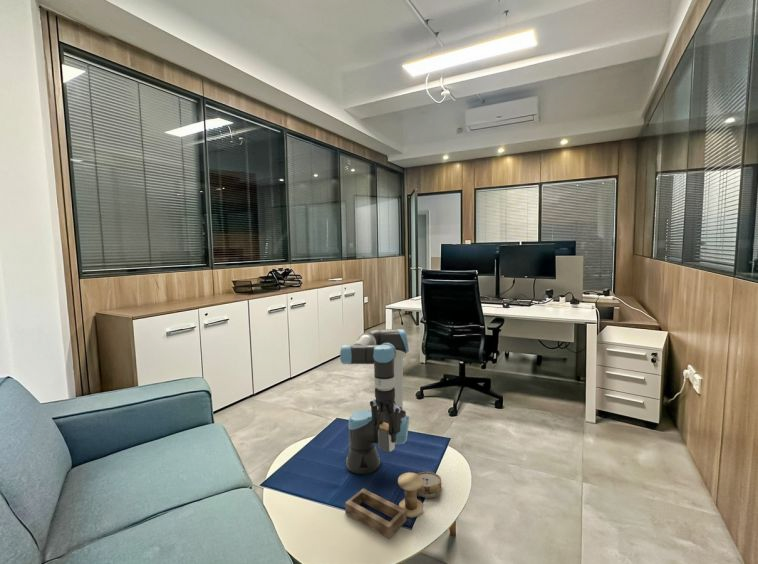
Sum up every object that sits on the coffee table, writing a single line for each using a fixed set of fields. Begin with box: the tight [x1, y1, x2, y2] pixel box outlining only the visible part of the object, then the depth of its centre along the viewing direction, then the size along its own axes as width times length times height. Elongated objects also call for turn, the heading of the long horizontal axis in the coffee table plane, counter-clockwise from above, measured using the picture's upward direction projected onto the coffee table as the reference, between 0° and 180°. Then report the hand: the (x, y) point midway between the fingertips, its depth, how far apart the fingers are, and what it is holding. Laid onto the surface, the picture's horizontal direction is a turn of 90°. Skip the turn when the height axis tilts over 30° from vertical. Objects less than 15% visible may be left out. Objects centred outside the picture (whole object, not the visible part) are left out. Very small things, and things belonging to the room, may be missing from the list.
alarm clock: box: [416, 471, 442, 499], centre depth 142 cm, size 11×5×15 cm
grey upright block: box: [378, 422, 390, 453], centre depth 135 cm, size 4×4×9 cm
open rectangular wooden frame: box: [344, 488, 407, 539], centre depth 129 cm, size 20×10×4 cm, turn 51°
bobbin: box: [397, 472, 424, 518], centre depth 132 cm, size 9×9×11 cm
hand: (386, 447), depth 136 cm, fingers closed on grey upright block, 4 cm apart
